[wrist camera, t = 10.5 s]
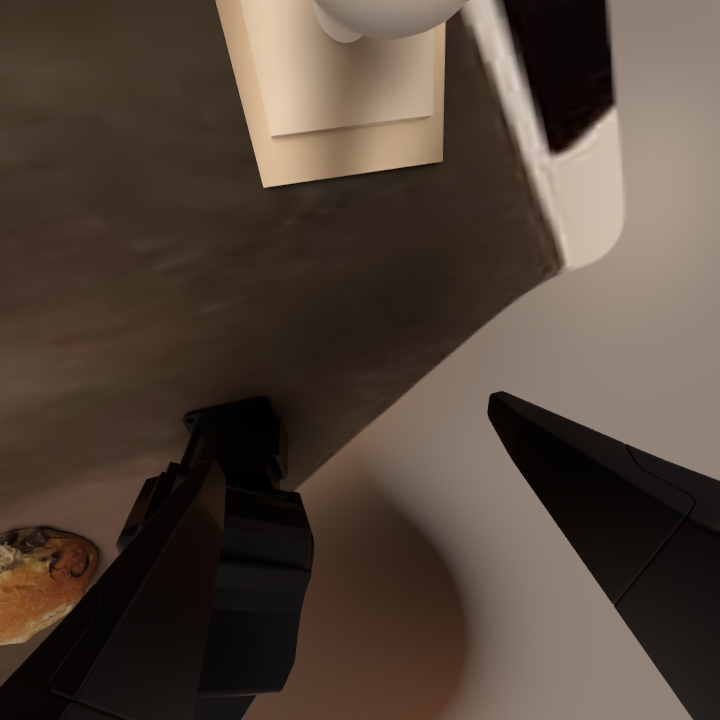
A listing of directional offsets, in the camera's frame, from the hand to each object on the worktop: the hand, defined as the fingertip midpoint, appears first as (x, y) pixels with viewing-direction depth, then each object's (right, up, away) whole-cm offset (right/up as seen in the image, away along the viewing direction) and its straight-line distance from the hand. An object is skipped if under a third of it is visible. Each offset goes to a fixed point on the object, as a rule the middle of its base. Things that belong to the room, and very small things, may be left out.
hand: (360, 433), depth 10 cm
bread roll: (-30, -16, +19) cm, 39 cm away
